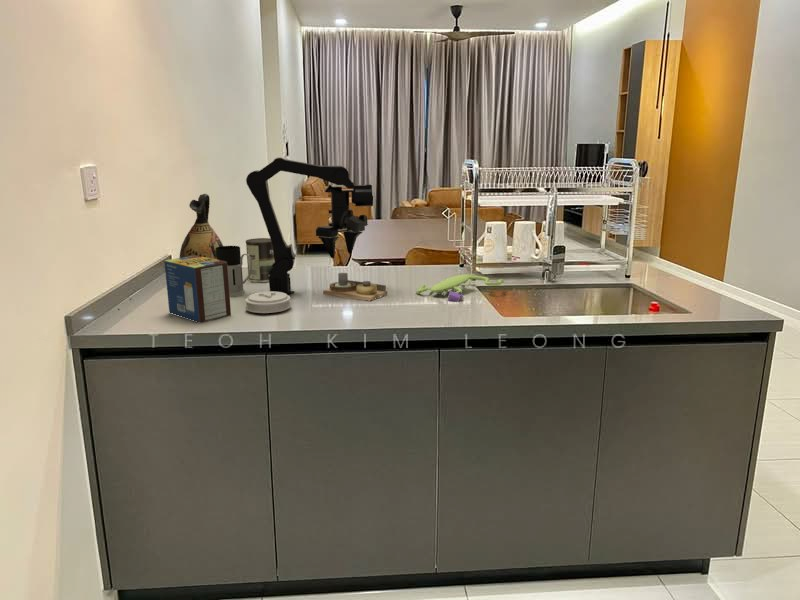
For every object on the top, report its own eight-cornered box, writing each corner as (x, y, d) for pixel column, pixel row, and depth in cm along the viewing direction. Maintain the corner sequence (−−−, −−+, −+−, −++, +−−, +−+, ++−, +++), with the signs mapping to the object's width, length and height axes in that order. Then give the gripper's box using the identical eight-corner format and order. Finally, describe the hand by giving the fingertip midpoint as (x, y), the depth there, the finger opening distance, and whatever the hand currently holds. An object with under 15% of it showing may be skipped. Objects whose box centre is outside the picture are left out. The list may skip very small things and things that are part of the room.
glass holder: (231, 289, 201) (228, 244, 198) (263, 294, 194) (260, 248, 191) (211, 294, 194) (207, 248, 190) (243, 300, 187) (240, 252, 183)
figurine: (510, 295, 196) (511, 278, 194) (443, 305, 182) (443, 287, 181) (475, 284, 211) (475, 268, 210) (410, 293, 197) (410, 276, 196)
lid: (243, 306, 181) (242, 290, 179) (286, 303, 185) (285, 287, 184) (249, 318, 169) (248, 300, 168) (294, 313, 173) (293, 296, 172)
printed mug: (280, 276, 221) (278, 237, 217) (274, 282, 211) (271, 242, 207) (252, 276, 221) (249, 237, 218) (244, 282, 211) (241, 242, 208)
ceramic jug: (219, 285, 207) (213, 196, 200) (174, 284, 208) (166, 196, 200) (234, 274, 224) (228, 192, 216) (192, 274, 224) (185, 192, 216)
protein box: (200, 306, 181) (196, 254, 177) (231, 315, 171) (228, 261, 167) (168, 313, 173) (163, 260, 169) (199, 323, 163) (194, 267, 159)
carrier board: (369, 301, 186) (369, 286, 185) (323, 294, 195) (322, 280, 194) (387, 294, 194) (387, 280, 193) (341, 287, 203) (341, 274, 202)
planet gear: (345, 291, 193) (344, 276, 192) (331, 289, 196) (331, 274, 195) (354, 288, 198) (354, 273, 196) (341, 286, 200) (341, 271, 199)
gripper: (343, 210, 179) (344, 263, 183) (378, 205, 194) (378, 253, 198) (313, 208, 185) (315, 259, 188) (350, 203, 200) (351, 250, 204)
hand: (341, 255), depth 195 cm, fingers open, 9 cm apart
